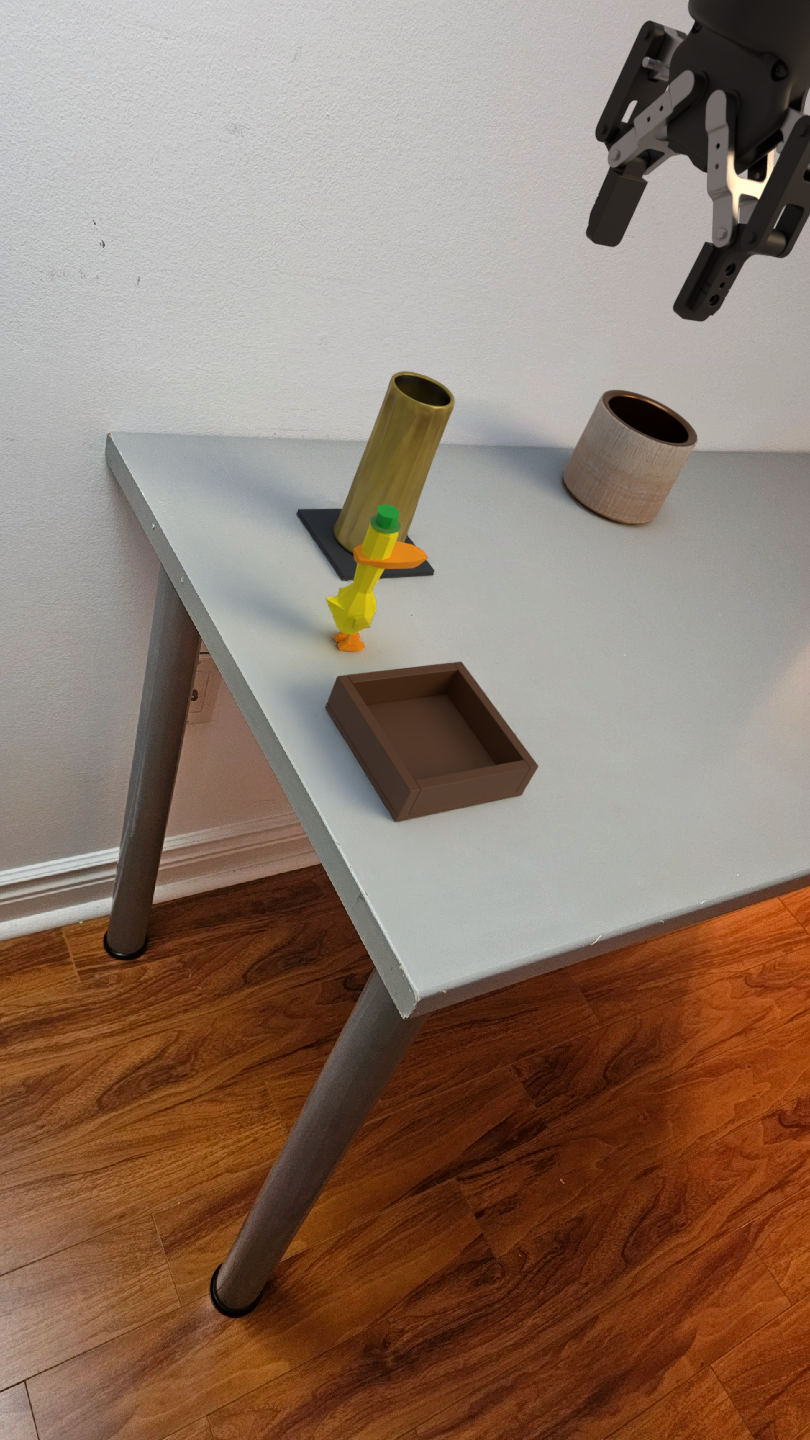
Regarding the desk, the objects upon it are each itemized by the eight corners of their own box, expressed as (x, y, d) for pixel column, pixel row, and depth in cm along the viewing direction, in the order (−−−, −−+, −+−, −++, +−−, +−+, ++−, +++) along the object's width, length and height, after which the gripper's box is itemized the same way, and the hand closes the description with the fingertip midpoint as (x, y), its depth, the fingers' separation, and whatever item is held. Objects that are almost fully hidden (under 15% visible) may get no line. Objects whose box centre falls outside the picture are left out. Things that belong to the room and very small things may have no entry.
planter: (599, 529, 106) (643, 446, 100) (541, 467, 112) (580, 385, 106) (673, 527, 112) (719, 448, 106) (615, 468, 118) (655, 391, 112)
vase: (350, 564, 86) (407, 408, 77) (321, 519, 89) (372, 364, 80) (413, 562, 89) (474, 413, 80) (382, 519, 93) (438, 371, 84)
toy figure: (381, 627, 82) (433, 498, 74) (398, 658, 80) (453, 529, 72) (301, 628, 79) (347, 493, 71) (317, 660, 77) (366, 525, 69)
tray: (395, 822, 68) (410, 791, 66) (324, 707, 73) (336, 675, 71) (521, 795, 73) (539, 766, 71) (447, 690, 79) (461, 660, 77)
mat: (342, 580, 85) (344, 575, 85) (296, 513, 90) (297, 508, 89) (433, 575, 90) (435, 570, 90) (384, 512, 95) (386, 507, 94)
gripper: (660, -139, 49) (524, 211, 60) (867, -47, 42) (669, 338, 52) (765, -89, 53) (621, 230, 64) (973, 3, 46) (769, 351, 56)
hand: (642, 278), depth 58 cm, fingers open, 8 cm apart
